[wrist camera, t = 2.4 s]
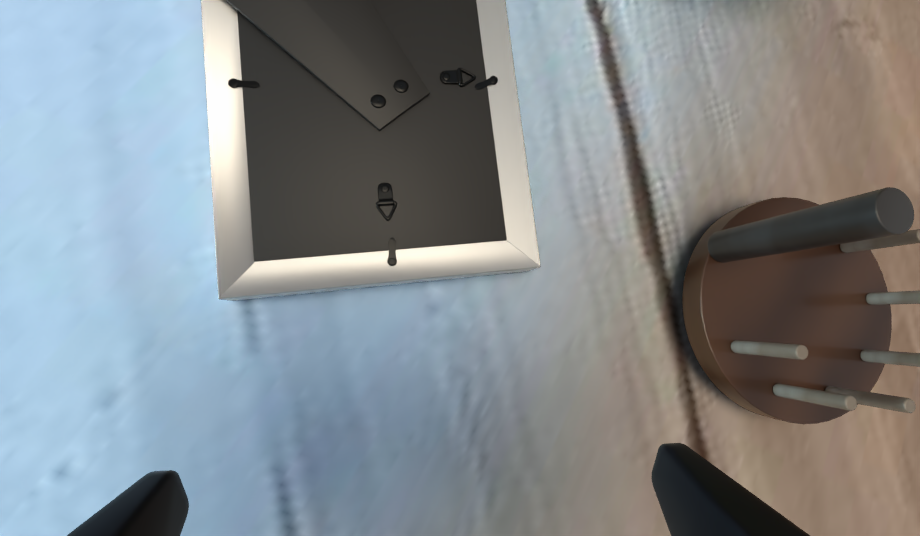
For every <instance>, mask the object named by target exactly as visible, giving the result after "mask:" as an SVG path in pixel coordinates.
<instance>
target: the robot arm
mask: <svg viewBox="0 0 920 536" xmlns="http://www.w3.org/2000/svg"><path fill="white" fill-rule="evenodd" d="M652 483H653V487H654V490H655V492H656V495H657V498H658V501H659V503H660V506H661V509H662V512H663V514H664V517H665V520H666V522H667V525H668V528H669V531H670V533H671V536H810V535H808V534H807V533H806V532H804V531H803V530H802V529H800V528H799V527H797V526H796V525H795V524H793V523H792V522H791V521H789V520H788V519H786V518H785V517H784V516H782V515H781V514H780V513H778V512H777V511H775V510H774V509H773V508H771V507H770V506H769V505H767V504H766V503H764V502H763V501H762V500H760V499H759V498H758V497H756V496H755V495H753V494H752V493H751V492H749V491H748V490H747V489H745V488H744V487H743V486H741V485H740V484H738V483H737V482H736V481H734V480H733V479H732V478H730V477H729V476H727V475H726V474H725V473H723V472H722V471H721V470H719V469H718V468H716V467H715V466H714V465H712V464H711V463H710V462H708V461H707V460H705V459H704V458H703V457H701V456H700V455H699V454H697V453H696V452H694V451H693V450H692V449H690V448H689V447H688V446H686V445H684V444H681V443H670V444H662V445H661V446H660V447H659V449H658V453H657V456H656V460H655V463H654V467H653V470H652ZM188 508H189V502H188V498H187V495H186V493H185V490H184V487H183V485H182V482H181V479H180V477H179V475H178V473H177V472H175V471H172V470H170V471H154V472H150V473H148V474H146V475H145V476H143V477H142V478H141V479H140V480H138V481H137V482H136V483H134V484H133V485H132V486H131V487H129V488H128V489H127V490H125V491H124V492H123V493H121V494H120V495H119V496H118V497H116V498H115V499H114V500H112V501H111V502H110V503H109V504H107V505H106V506H105V507H103V508H102V509H101V510H99V511H98V512H97V513H96V514H94V515H93V516H92V517H90V518H89V519H88V520H87V521H85V522H84V523H83V524H81V525H80V526H79V527H77V528H76V529H75V530H74V531H72V532H71V533H70V534H68V535H67V536H180V534H181V531H182V528H183V526H184V523H185V520H186V517H187V514H188Z"/></svg>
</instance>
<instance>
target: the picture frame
mask: <svg viewBox="0 0 920 536" xmlns="http://www.w3.org/2000/svg"><path fill="white" fill-rule="evenodd" d="M201 11H202V28H203V45H204V62H205V79H206V96H207V113H208V130H209V147H210V164H211V181H212V198H213V215H214V233H215V250H216V267H217V284H218V299H221V300H231V301H236V300H246V299H256V298H266V297H276V296H286V295H296V294H306V293H316V292H326V291H336V290H346V289H356V288H366V287H376V286H386V285H396V284H406V283H416V282H426V281H436V280H446V279H456V278H466V277H476V276H486V275H496V274H506V273H516V272H526V271H530V270H533V269H537V268H540V267H541V266H540V259H539V251H538V244H537V236H536V229H535V221H534V214H533V206H532V199H531V191H530V184H529V176H528V168H527V161H526V153H525V146H524V138H523V131H522V123H521V116H520V108H519V101H518V93H517V86H516V78H515V70H514V63H513V55H512V48H511V40H510V33H509V25H508V18H507V10H506V3H505V0H201Z"/></svg>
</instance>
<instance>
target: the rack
mask: <svg viewBox="0 0 920 536" xmlns="http://www.w3.org/2000/svg"><path fill="white" fill-rule="evenodd" d="M913 220H914V210H913V206H912V203H911V201H910V200H909V198H908V197H907V196H906V194H905V193H903V192H902V191H901V190H899V189H896V188H890V187H889V188H884V189H880V190H876V191H872V192H868V193H864V194H861V195H857V196H853V197H849V198H845V199H841V200H837V201H833V202H829V203H826V204H822V205H819V204H816V203H813V202H810V201H807V200H802V199H798V198H786V197H782V198H771V199H767V200H763V201H759V202H756V203H753V204H750V205H746V206H743V207H740V208H738V209H735V210H733V211H731V212H729V213H727V214H726V215H724V216H722V217H721V218H720V219H718V220H717V221H716V222H715V223H714V224H713V225H711V226H710V227H709V229H708V230H707V231H706V232H705V233H704V234H703V236H702V237H701V239H700V240H699V242H698V243H697V245H696V246H695V249H694V251H693V253H692V255H691V257H690V260H689V263H688V266H687V269H686V273H685V278H684V284H683V298H682V301H683V316H684V322H685V327H686V331H687V335H688V338H689V342H690V344H691V347H692V349H693V351H694V354H695V356H696V358H697V360H698V362H699V363H700V365H701V367H702V369H703V370H704V372H705V373H706V374H707V376H708V377H709V378H710V380H711V381H712V382H713V383H714V384H715V385H716V387H717V388H718V389H719V390H720V391H721V392H722V393H723V394H725V395H726V396H727V397H728V398H730V399H731V400H732V401H733V402H735V403H737V404H738V405H740V406H741V407H743V408H745V409H747V410H749V411H752V412H754V413H756V414H760V415H763V416H767V417H771V418H774V419H778V420H782V421H786V422H790V423H798V424H815V423H821V422H825V421H830V420H832V419H835V418H837V417H840V416H842V415H844V414H845V413H847V412H849V411H852V410H855V409H856V407H857V405H858V404H861V405H867V406H872V407H877V408H883V409H888V410H894V411H899V412H905V413H912V412H914V411H915V403H914V401H913V400H911V399H909V398H904V397H897V396H891V395H884V394H878V393H871V392H870V391H871V390H872V388H873V387H874V385H875V384H876V382H877V380H878V378H879V376H880V374H881V372H882V370H883V368H884V365H885V364H895V365H906V366H917V367H920V353H908V352H893V351H889V346H890V340H891V330H892V328H891V307H890V304H920V291H902V292H888V291H887V287H886V283H885V280H884V277H883V274H882V272H881V270H880V267H879V265H878V263H877V261H876V259H875V257H874V255H873V254H872V252H871V249H879V248H886V247H893V246H900V245H907V244H915V243H920V229H917V230H911V231H908V230H909V229H910V227H911V226H912V224H913Z"/></svg>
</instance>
